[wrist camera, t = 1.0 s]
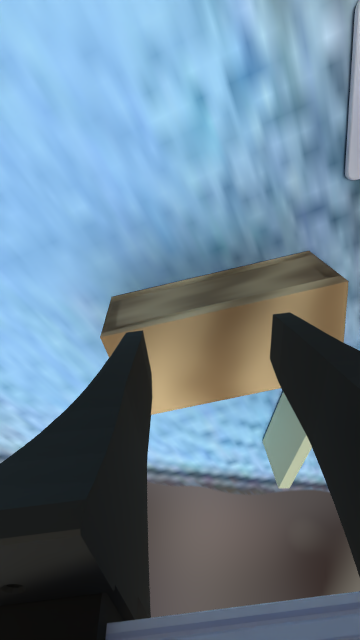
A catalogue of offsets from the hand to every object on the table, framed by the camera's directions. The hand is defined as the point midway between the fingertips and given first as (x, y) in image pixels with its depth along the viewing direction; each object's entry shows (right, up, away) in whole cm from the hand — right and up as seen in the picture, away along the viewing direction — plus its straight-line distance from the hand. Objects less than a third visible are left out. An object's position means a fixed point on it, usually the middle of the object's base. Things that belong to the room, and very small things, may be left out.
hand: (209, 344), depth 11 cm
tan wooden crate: (+2, +1, +12) cm, 12 cm away
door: (+9, -6, +16) cm, 20 cm away
